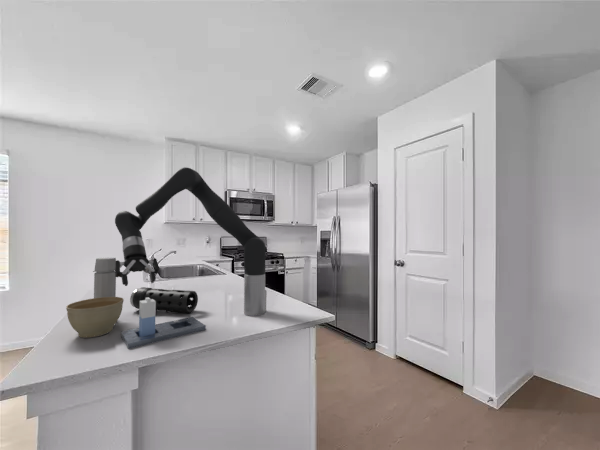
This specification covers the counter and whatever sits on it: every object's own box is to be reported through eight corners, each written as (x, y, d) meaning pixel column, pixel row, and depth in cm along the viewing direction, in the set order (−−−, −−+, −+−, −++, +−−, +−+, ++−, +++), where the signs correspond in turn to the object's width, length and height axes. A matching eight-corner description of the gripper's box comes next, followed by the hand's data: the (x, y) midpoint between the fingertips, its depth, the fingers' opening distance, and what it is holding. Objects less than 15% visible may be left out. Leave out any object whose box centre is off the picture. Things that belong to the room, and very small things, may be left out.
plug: (152, 333, 94) (152, 296, 94) (155, 337, 90) (155, 298, 91) (138, 336, 91) (139, 297, 91) (141, 340, 88) (142, 300, 88)
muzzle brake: (185, 317, 112) (185, 293, 112) (128, 313, 118) (128, 289, 118) (198, 311, 122) (198, 288, 122) (144, 307, 127) (145, 285, 127)
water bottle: (118, 321, 107) (119, 258, 108) (94, 326, 101) (95, 259, 102) (112, 316, 113) (113, 256, 114) (89, 320, 108) (90, 258, 108)
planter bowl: (116, 321, 106) (117, 294, 107) (128, 333, 95) (128, 302, 95) (62, 333, 95) (63, 302, 95) (68, 347, 84) (69, 312, 84)
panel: (192, 321, 107) (192, 316, 107) (205, 331, 97) (205, 325, 97) (120, 337, 91) (120, 331, 91) (127, 350, 81) (128, 343, 81)
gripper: (114, 244, 101) (118, 279, 92) (155, 243, 111) (163, 274, 102) (111, 257, 105) (115, 291, 96) (152, 255, 115) (159, 286, 106)
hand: (140, 283), depth 99 cm, fingers open, 8 cm apart
